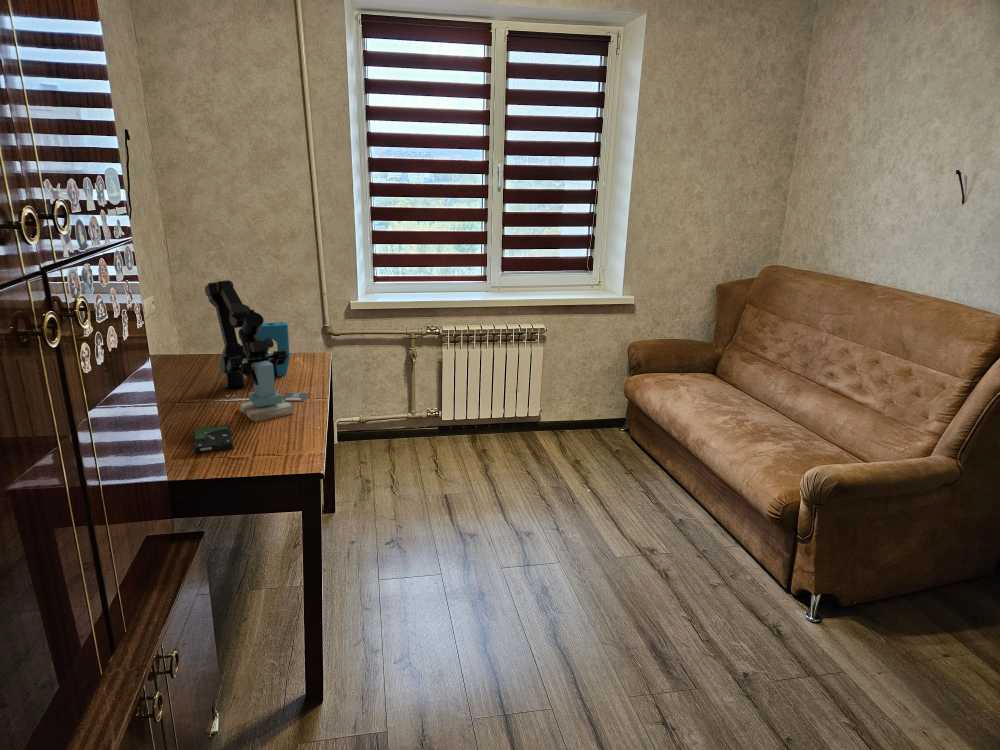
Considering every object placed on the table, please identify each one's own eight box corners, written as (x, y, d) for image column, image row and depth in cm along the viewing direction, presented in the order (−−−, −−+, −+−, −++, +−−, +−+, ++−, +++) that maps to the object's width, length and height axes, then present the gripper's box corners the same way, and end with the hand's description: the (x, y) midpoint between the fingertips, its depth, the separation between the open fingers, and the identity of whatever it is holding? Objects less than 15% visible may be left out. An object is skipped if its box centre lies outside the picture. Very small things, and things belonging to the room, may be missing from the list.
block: (290, 371, 262) (287, 322, 256) (290, 375, 257) (287, 325, 251) (258, 373, 258) (254, 323, 252) (258, 377, 253) (254, 326, 247)
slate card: (286, 393, 237) (286, 392, 237) (308, 394, 238) (308, 392, 238) (280, 401, 230) (280, 400, 230) (303, 401, 230) (303, 400, 230)
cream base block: (239, 411, 221) (238, 403, 220) (277, 403, 229) (276, 395, 228) (255, 423, 212) (254, 414, 211) (293, 414, 220) (293, 406, 219)
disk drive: (234, 451, 192) (229, 431, 204) (233, 442, 191) (228, 423, 204) (195, 456, 187) (192, 436, 200) (194, 447, 187) (191, 428, 199)
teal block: (249, 399, 220) (246, 362, 216) (272, 395, 224) (270, 358, 220) (257, 407, 214) (254, 368, 210) (282, 402, 219) (279, 365, 215)
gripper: (226, 333, 209) (241, 376, 204) (284, 326, 220) (299, 366, 216) (220, 351, 217) (234, 392, 213) (276, 343, 229) (291, 382, 224)
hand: (265, 383), depth 216 cm, fingers closed on teal block, 5 cm apart
